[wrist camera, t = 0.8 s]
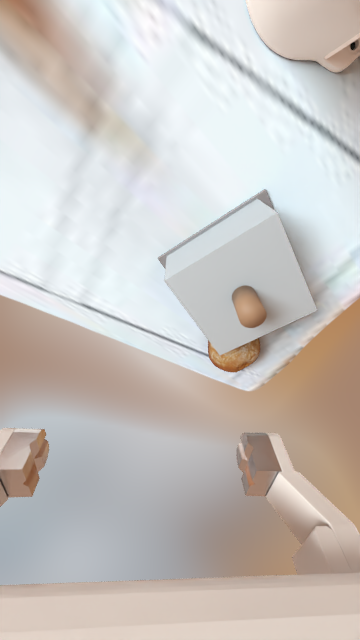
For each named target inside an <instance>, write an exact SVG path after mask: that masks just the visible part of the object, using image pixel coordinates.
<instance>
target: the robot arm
mask: <svg viewBox="0 0 360 640" xmlns="http://www.w3.org/2000/svg"><path fill="white" fill-rule="evenodd" d="M246 4H247V8H248V12H249V15H250V18H251V20H252V23H253V25H254V27H255V29H256V31H257V33H258V34H259V36H260V37H261V39H262V40H263V41H264V43H265V44H266V45H267V46H268V47H269V48H270V49H272V50H273V51H274V52H276V53H277V54H279V55H281V56H283V57H286V58H289V59H293V60H312V61H316V62H318V63H319V64H321V65H322V66H323V67H325V68H326V69H328V70H330V71H332V72H341V71H342V70H344V69H345V68H347V67H348V66H349V65H350V64H351V63H352V62H353V61H354V60H355V59H356V58H357V57H359V56H360V0H246ZM352 42H355V48H354V50H351V48H350V44H351V43H352ZM45 436H46V432H45V430H44V429H20V428H2V430H0V507H1V506H2V505H3V504H4V503H5V502H6V501H7V499H8V497H32V495H33V493H34V491H35V488H36V486H37V483H38V481H39V475H38V471H40V470H41V469H42V468H43V467H44V466H45V463H46V460H47V457H48V452H49V444H48V441H47V440H45V439H44V438H45ZM241 441H242V442H241V443H239V444H238V447H237V463H238V467H239V468H240V470H242V472H243V476H242V483H243V487H244V491H245V495H246V496H266V499H267V500H268V501H269V502H270V504H271V505H272V506H273V508H274V509H275V510H276V512H277V513H278V514H279V516H280V517H281V518H282V520H283V521H284V522H285V524H286V525H287V526H288V527H289V529H290V530H291V531H292V533H293V534H294V535H295V537H296V538H297V539H298V541H299V542H300V543H301V546H300V547H299V548H298V549H297V550H296V552H295V553H294V555H293V557H292V558H293V562H294V565H295V568H296V571H297V575H278V576H277V575H276V576H250V577H221V578H191V579H163V580H137V581H136V580H135V581H108V582H79V583H52V584H22V585H0V640H360V535H359V533H358V531H357V529H356V527H355V525H354V524H353V523H352V522H351V521H350V520H349V519H348V518H347V517H346V516H345V515H344V514H343V513H342V512H340V511H339V510H338V509H337V508H336V507H335V506H334V505H333V504H332V503H331V502H330V501H329V500H328V499H327V498H326V497H325V496H324V495H322V493H321V492H319V491H318V490H317V489H316V488H315V487H314V486H313V485H312V484H311V483H310V482H309V481H308V480H307V479H306V478H305V477H303V475H302V474H300V473H299V472H295V470H294V467H293V465H292V463H291V460H290V458H289V456H288V454H287V451H286V449H285V447H284V444H283V442H282V440H281V437H280V436H279V434H277V433H243V434H242V435H241Z"/></svg>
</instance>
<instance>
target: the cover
mask: <svg viewBox="0 0 360 640" xmlns="http://www.w3.org/2000/svg"><path fill="white" fill-rule="evenodd" d="M164 281H165V283H166V284H167V285H168V287H169V288H170V289H171V291H172V292H173V293H174V295H175V296H176V297H177V299H178V300H179V301H180V303H181V304H182V305H183V307H184V308H185V309H186V311H187V312H188V313H189V315H190V316H191V317H192V319H193V320H194V322H195V323H196V324H197V326H198V327H199V328H200V330H201V331H202V332H203V334H204V335H205V336H206V338H207V339H208V340H209V342H210V343H211V344H212V346H213V347H214V348H215V350H216V351H217V352H218V354H219V355H222V354H224V353H227V352H229V351H231V350H233V349H235V348H237V347H240V346H242V345H244V344H246V343H248V342H250V341H253V340H255V339H257V338H259V337H261V336H263V335H266V334H268V333H270V332H272V331H274V330H276V329H279V328H281V327H283V326H285V325H287V324H289V323H292V322H294V321H296V320H298V319H300V318H302V317H305V316H307V315H309V314H311V313H313V312H315V311H317V308H316V306H315V303H314V301H313V298H312V296H311V293H310V291H309V288H308V286H307V284H306V281H305V279H304V276H303V274H302V271H301V269H300V266H299V264H298V261H297V259H296V257H295V254H294V252H293V249H292V247H291V244H290V242H289V239H288V237H287V234H286V232H285V230H284V227H283V225H282V222H281V220H280V217H279V215H278V212H276V211H275V210H273V209H272V208H270V207H269V206H267V205H266V204H264V203H263V202H262V201H260V200H259V199H256V200H254V201H253V202H251V203H250V204H248V205H247V206H245V207H243V208H242V209H240V210H239V211H237V212H236V213H234V214H232V215H231V216H229V217H228V218H226V219H225V220H223V221H221V222H220V223H218V224H217V225H215V226H214V227H212V228H210V229H209V230H207V231H206V232H204V233H203V234H201V235H199V236H198V237H196V238H195V239H193V240H192V241H190V242H188V243H187V244H185V245H184V246H182V247H180V248H179V249H177V250H176V251H174V252H173V253H171V254H169V255H168V256H167V258H166V268H165V278H164Z"/></svg>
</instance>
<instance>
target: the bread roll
mask: <svg viewBox="0 0 360 640" xmlns="http://www.w3.org/2000/svg"><path fill="white" fill-rule="evenodd" d="M208 353H209V358H210V360H211V361H212V363H213V364H214V365H215V366H216V367H218V368H220V369H222V370H224V371H228V372H237V371H240V370H242V369H243V368H245V367H247V366H249V365H250V364H252V363H253V362H254V361H255V360H256V359H257V357H258V356H259V353H260V341H259V339H258V338H257V339H255V340H253V341H250V342H248V343H246V344H244V345H242V346H240V347H237V348H235V349H233V350H231V351H229V352H227V353H224V354H222V355H219V354H218V352H217V351H216V350H215V348H214V347H213V346H212V344H211V343H210V342H209V340H208Z"/></svg>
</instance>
